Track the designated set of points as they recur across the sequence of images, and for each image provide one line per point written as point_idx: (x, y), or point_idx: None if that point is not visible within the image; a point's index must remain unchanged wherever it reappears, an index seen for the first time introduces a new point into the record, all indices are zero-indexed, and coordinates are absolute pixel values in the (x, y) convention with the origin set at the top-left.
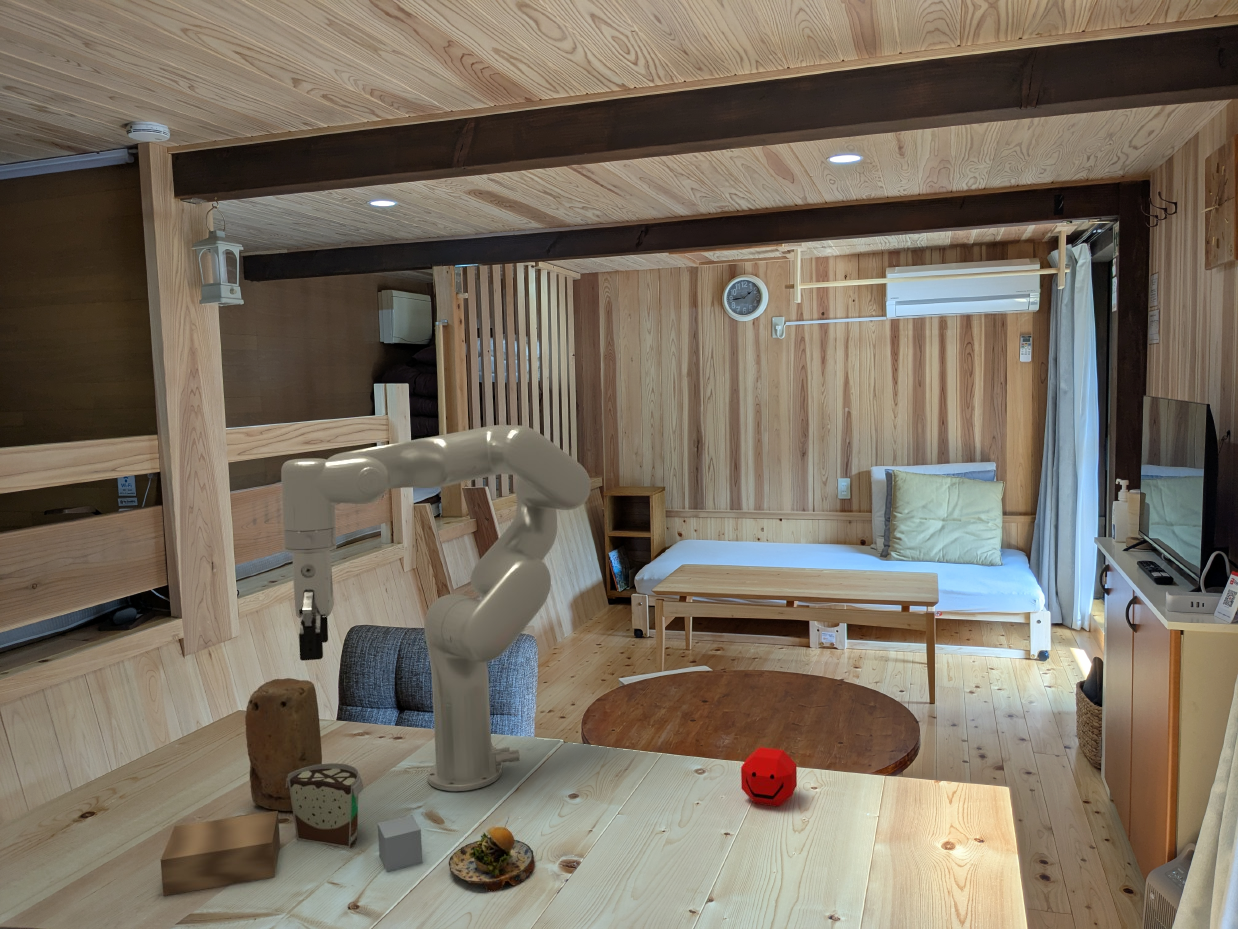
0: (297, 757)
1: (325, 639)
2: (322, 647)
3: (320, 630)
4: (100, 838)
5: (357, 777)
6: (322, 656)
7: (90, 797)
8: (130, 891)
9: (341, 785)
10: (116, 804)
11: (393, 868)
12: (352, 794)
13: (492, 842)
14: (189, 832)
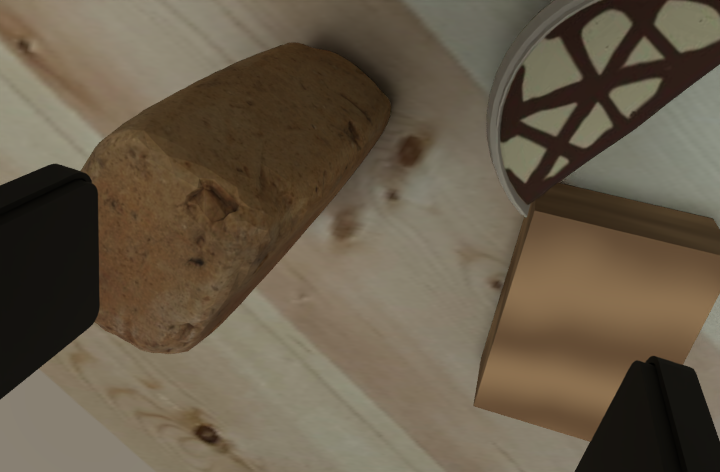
0: (357, 153)
1: (83, 199)
2: (705, 435)
3: (12, 277)
4: (313, 435)
5: None
6: (696, 375)
7: (138, 421)
8: (563, 435)
9: (707, 60)
10: (182, 397)
11: None
12: None
13: None
14: (528, 391)
